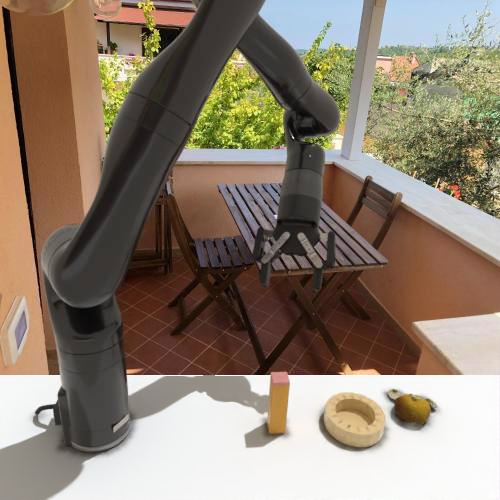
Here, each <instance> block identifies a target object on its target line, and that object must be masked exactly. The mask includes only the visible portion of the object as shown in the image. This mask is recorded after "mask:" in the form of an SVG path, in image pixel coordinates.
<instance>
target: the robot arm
mask: <svg viewBox="0 0 500 500" xmlns="http://www.w3.org/2000/svg"><path fill="white" fill-rule="evenodd" d="M190 1H191V3H192V4H193V5H194V7H196V10H195V11H194V14H193V15H192V17H191V19H190V21H189V22H188V24H187V25H186V27H185V28H184V29H183V30H182V32H181V33H180V34H179V35H178V36H177V37H176V38H175V39H174V40H173V41H172V42H171V43H170V44H169V45H168V46H166V48H164V49H163V50H162V51H161V52H160V53H159V54H157V56H156V57H154V58H153V59H152V60H151V61H150V62H149V63H148V64H147V66H145V67H144V68H143V70H142V71H140V72H139V74H138V75H137V77H136V78H135V79H134V81H133V82H132V84H131V86H130V88H129V90H128V92H127V93H126V95H125V96H124V98H123V99H124V100H123V102H122V103H121V105H120V107H119V110H118V112H117V114H116V116H115V118H114V121H113V123H112V126H111V129H110V132H109V135H108V137H107V142H106V146H105V151H104V156H103V162H102V167H101V173H100V177H99V178H100V179H99V183H98V186H97V190H96V193H95V195H94V198H93V200H92V203H91V204H90V207H89V208H88V211H87V212H86V214H85V216H84V218H83V219H82V221H81V223H70V224H69V223H68V224H66V225H63V226H61V227H59V228H57V229H56V230H54V231H53V232H52V233H51V234H50V235H49V236H48V237H47V239H46V240H45V242H44V243H43V246H42V250H41V255H40V264H41V271H42V272H41V273H42V279H43V286H44V292H45V297H46V305H47V310H48V315H49V321H50V325H51V328H52V331H53V337H54V344H55V348H56V356H57V357H56V358H57V363H58V370H59V375H60V376H59V377H60V383H61V385H60V388H59V389H58V391H57V395H56V396H57V400H56V402H55V403H52V404H51V403H50V404H44V405H41V406H39V407H38V408H36V410H35V411H34V415H36V416H39V414H41V412H43V411H47V410H52V412H53V419H54V425H55V426H61V429H62V436H63V442H64V446H72V447H73V448H74V449H76V450H77V451H81V452H84V453H99V452H103V451H108V450H109V449H112V448H114V447H115V446H117V445H119V444H120V443H121V442H123V441H124V440H125V438H127V436H128V435H129V433H130V431H131V428H132V418H131V411H130V399H129V386H128V385H129V384H128V374H127V373H128V371H127V359H126V347H125V334H124V320H123V316H122V315H123V314H122V312H121V309H120V307H119V304H118V300H117V297H116V293H117V292H118V291H119V289H120V288H121V286H122V285H123V283H124V280H125V279H126V276H127V275H128V271H129V268H130V266H131V263H132V261H133V258H134V255H135V252H136V250H137V246H138V245H139V242H140V239H141V237H142V234H143V231H144V229H145V227H146V224H147V222H148V219H149V217H150V216H151V213H152V211H153V210H154V207H155V205H156V203H157V202H158V200H159V198H160V196H161V194H162V192H163V190H164V188H165V186H166V184H167V182H168V179H169V178H170V176H171V175H172V174H171V173H172V172H173V170H174V167H175V166H176V164H177V162H178V161H179V158H180V157H181V155H182V153H183V151H184V149H185V147H186V145H187V143H188V141H189V140H190V138H191V135H192V134H193V131H194V129H195V127H196V125H197V122H198V120H199V118H200V116H201V114H202V111H203V109H204V107H205V106H206V104H207V102H208V100H209V99H210V96H211V95H212V92H213V91H214V89H215V87H216V85H217V84H218V82H219V79H220V78H221V76H222V74H223V72H224V70H225V68H226V66H227V65H228V62H229V61H230V59H231V58H232V55H233V54H234V53H235V51H236V50H237V51H238V52H239V53H240V54H241V56H243V58H244V59H245V61H247V63H248V64H249V66H251V67H252V69H253V70H254V72H256V74H257V75H258V77H259V78H260V79H261V80H262V82H263V84H264V85H265V87H266V88H267V90H268V91H269V93H270V94H271V96H272V97H273V99H274V100H275V102H276V103H277V105H278V106H279V107H280V109H283V110H284V111H283V114H282V125H283V132H284V136H285V146H286V160H285V167H284V175H283V180H282V182H281V188H280V193H279V201H278V208H277V216H276V222H275V226H274V228H273V229H267V228H266V229H265V228H264V227H263V226H258V228H257V229H256V234H255V239H254V245H253V249H252V254H251V258H252V259H253V260H254V261H255V262H257V263H259V264H260V270H259V271H260V272H259V277H258V278H259V279H258V280H259V283H261V286H262V287H264V288H269V287H270V281H271V280H270V279H271V273H272V267H271V265H272V264H273V263H274V262H275V261H277V259H280V257H282V256H283V255H285V256H288V257H289V256H296V257H301V258H302V257H305V256H306V255H308V257H309V258H310V260H311V262H312V264H314V268H313V270H312V279H311V289H310V290H311V292H312V293H318V290H321V288H322V285H323V275H324V272H325V271H326V270H329V269H331V270H332V269H334V268H335V267H336V253H337V252H336V250H337V249H336V248H337V237H336V233H335V231H332V230H330V231H328V232H320V230H319V229H320V220H321V210H322V203H323V199H324V197H323V195H324V173H325V164H326V151H325V149H324V148H323V147H322V146H321V145H320V144H318V143H315V142H310V141H305V140H306V139H315V138H321V137H328V136H331V135H332V134H334V133H335V132H336V131H337V130H338V129H339V126H340V123H341V112H340V108H339V105H338V103H337V102H336V100H335V99H334V97H333V96H332V95H331V94H330V93H329V92H328V91H327V90H325V88H323V87H322V86H321V85H320V84H319V83H318V82H317V81H315V80H314V79H313V78H312V76H311V74H310V73H309V71H308V69H307V67H306V65H305V64H304V60H303V59H302V58H301V56H300V54H299V53H298V51H296V49H295V48H294V47H293V46H292V44H290V42H289V41H287V39H285V38H284V37H283V36H282V35H281V33H279V32H278V31H277V30H276V29H274V27H272V26H271V25H270V24H269V23H268V22H267V21H266V20H265V18H263V17H262V16H261V14H260V12H261V10H262V8H263V6H264V5H265V3H266V1H267V0H190ZM270 238H273V240H274V241H275V242H274V243H273V244H272V246H271V247H269V249H268V251H267V252H266V253H265V254H264V252H265V247H266V243H267V242H269V240H270ZM320 241H322V243H323V245H324V246H325V247H326V259H325V260H321V259H320V257H319V255H318V254H317V253H316V251H315V249H314V248H315V247H316V246H317V245H318V243H320Z"/></svg>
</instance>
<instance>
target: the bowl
mask: <svg viewBox="0 0 500 500" xmlns="http://www.w3.org/2000/svg"><path fill="white" fill-rule="evenodd" d="M323 423H324V426H325V428H326V430H327V432H328V433H329V434H330V436H331V437H333V438H334V439H335V440H337V441H338V442H340V443H342V444H345V445H347V446H350V447H354V448H368V447H372V446H375V445H376V444H377V443H379V441H381V439H382V437H383V436H384V432H385V428H386V413H385V412H384V410H383V408H382V407H381V405H379V404H378V403H377V402H376V401H375V400H374V399H372V398H370V397H367V396H366V395H365V394H361V393H356V392H352V391H351V392H349V391H348V392H339V393H337V394H333V395H331V396H330V398H328V399H327V401H326V403H325V407H324V414H323Z"/></svg>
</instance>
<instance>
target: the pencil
mask: <svg viewBox="0 0 500 500" xmlns="http://www.w3.org/2000/svg"><path fill="white" fill-rule="evenodd" d="M289 377H290V376H289V374H288V372H287V371H270V378H269V391H268V403H267V420H266V424H267V429H268V433H269V435H271V434H273V435H274V434H285V433H286V428H287V417H288V408H289V396H290V385H291V382H290V378H289Z"/></svg>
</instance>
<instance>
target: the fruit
mask: <svg viewBox="0 0 500 500" xmlns="http://www.w3.org/2000/svg"><path fill="white" fill-rule="evenodd" d="M387 394H388V397H389V398H390V399H392V400H394V405H393V410H394V413H395V416H396V418H397V419H398V420H399V421H400V422H402V423H409V424H418V425H420V426H423V425H424V424H426V423H427V421H428V420H429V418H430V415H431V410H432V409H431V406H430V405H432V406H434V407H433V409H436V408H438V405H437V403H436V402H434V400H432V399H430V398H423V397H422V396H420V395H418V394H413V393H400V392H399V390H398V389H395V388H394V389H392V388H391V389H389V390H388V391H387Z"/></svg>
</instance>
